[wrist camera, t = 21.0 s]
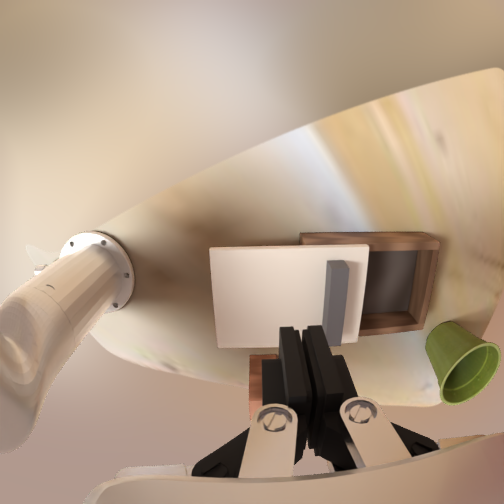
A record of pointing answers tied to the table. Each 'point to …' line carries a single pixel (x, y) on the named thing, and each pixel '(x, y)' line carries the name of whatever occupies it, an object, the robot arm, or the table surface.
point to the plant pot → (461, 362)
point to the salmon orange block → (256, 382)
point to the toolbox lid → (287, 292)
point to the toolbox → (391, 277)
